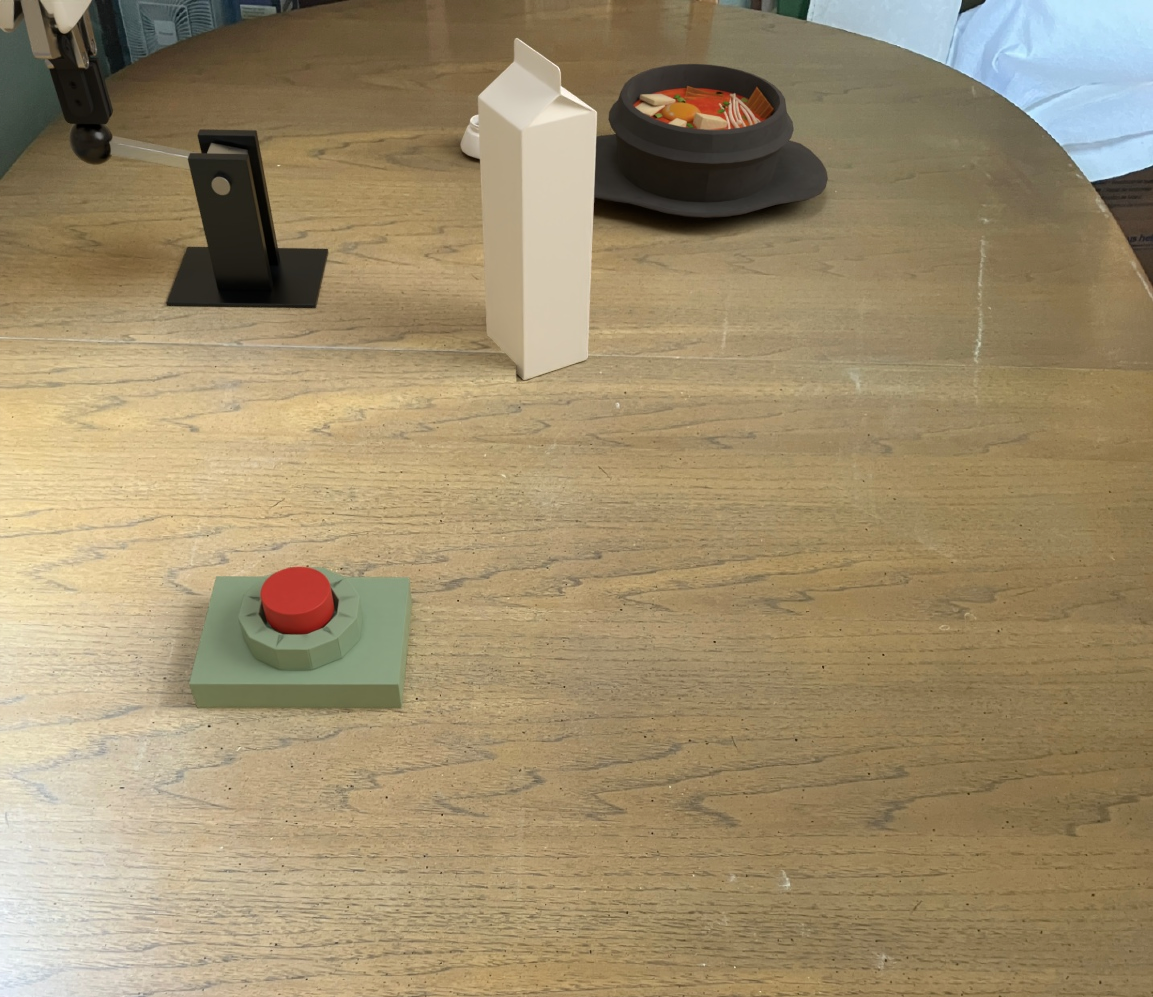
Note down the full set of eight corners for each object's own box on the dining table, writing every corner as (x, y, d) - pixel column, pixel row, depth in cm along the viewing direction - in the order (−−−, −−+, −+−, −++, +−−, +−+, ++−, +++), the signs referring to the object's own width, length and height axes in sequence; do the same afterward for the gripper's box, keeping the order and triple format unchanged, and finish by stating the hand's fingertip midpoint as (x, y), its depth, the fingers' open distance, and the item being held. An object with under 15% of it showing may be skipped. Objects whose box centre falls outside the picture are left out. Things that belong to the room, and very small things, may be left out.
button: (260, 635, 66) (255, 614, 65) (270, 587, 69) (265, 565, 68) (330, 635, 67) (326, 614, 65) (337, 587, 69) (334, 566, 68)
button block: (197, 708, 68) (180, 662, 64) (223, 601, 73) (209, 554, 70) (402, 709, 68) (395, 663, 65) (412, 602, 74) (406, 555, 71)
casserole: (806, 145, 117) (822, 55, 110) (840, 238, 105) (860, 143, 98) (560, 142, 115) (561, 51, 109) (566, 236, 104) (568, 140, 97)
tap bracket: (169, 316, 94) (129, 170, 85) (190, 259, 99) (155, 116, 90) (317, 318, 94) (294, 172, 85) (329, 261, 100) (309, 119, 91)
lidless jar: (516, 160, 113) (506, 138, 116) (516, 129, 110) (505, 107, 114) (466, 164, 112) (457, 141, 115) (464, 133, 110) (455, 110, 113)
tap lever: (66, 167, 87) (61, 124, 85) (77, 148, 89) (72, 105, 87) (242, 201, 89) (242, 160, 87) (249, 181, 92) (249, 141, 89)
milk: (549, 324, 95) (554, 27, 78) (588, 361, 91) (602, 59, 74) (484, 344, 92) (474, 43, 75) (522, 382, 89) (520, 77, 72)
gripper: (-24, -220, 76) (65, 76, 91) (-103, -154, 67) (10, 165, 81) (90, -217, 77) (161, 78, 91) (28, -151, 67) (118, 166, 82)
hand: (90, 118), depth 86 cm, fingers closed
